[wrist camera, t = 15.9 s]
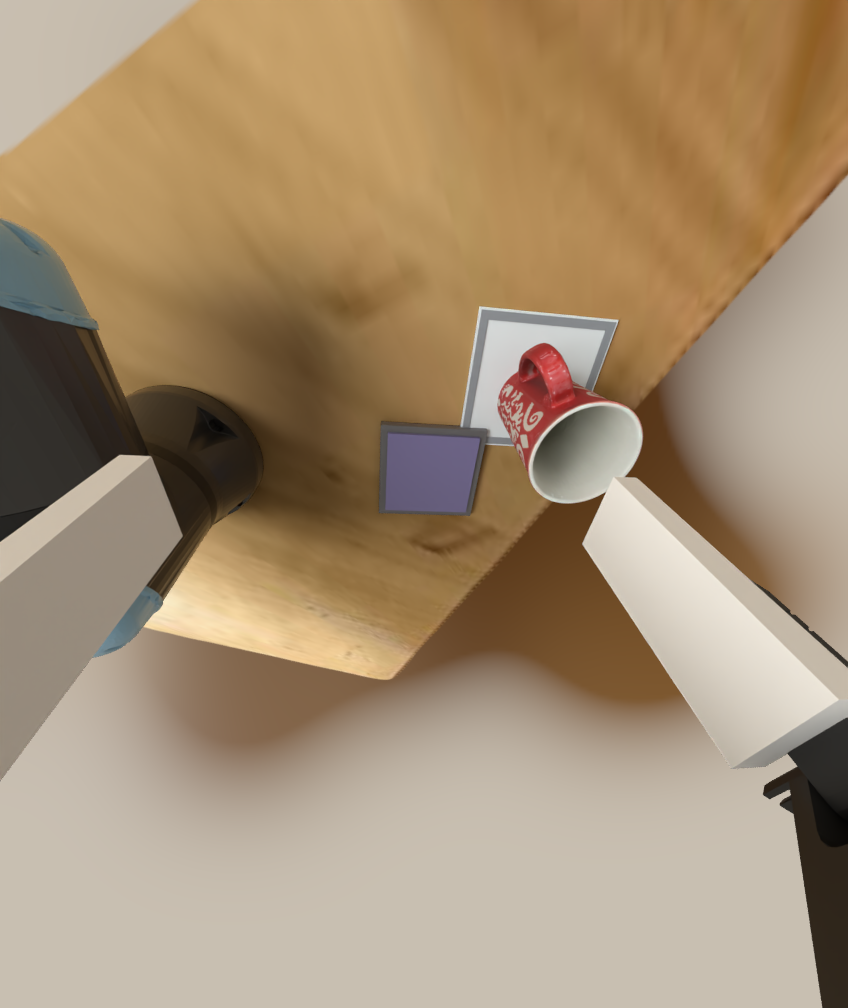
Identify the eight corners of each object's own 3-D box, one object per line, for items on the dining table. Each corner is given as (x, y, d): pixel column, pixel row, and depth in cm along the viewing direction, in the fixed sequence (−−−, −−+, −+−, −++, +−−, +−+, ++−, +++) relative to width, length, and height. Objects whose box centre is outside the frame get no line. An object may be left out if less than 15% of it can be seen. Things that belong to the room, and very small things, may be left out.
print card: (457, 442, 41) (458, 443, 41) (479, 306, 33) (480, 306, 33) (570, 447, 43) (571, 449, 42) (617, 319, 35) (619, 320, 34)
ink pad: (379, 508, 46) (378, 514, 45) (381, 421, 39) (380, 426, 38) (468, 511, 47) (470, 517, 46) (485, 427, 40) (488, 432, 39)
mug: (577, 418, 40) (647, 479, 29) (502, 450, 42) (541, 519, 31) (556, 303, 33) (637, 327, 22) (467, 346, 35) (501, 388, 24)
